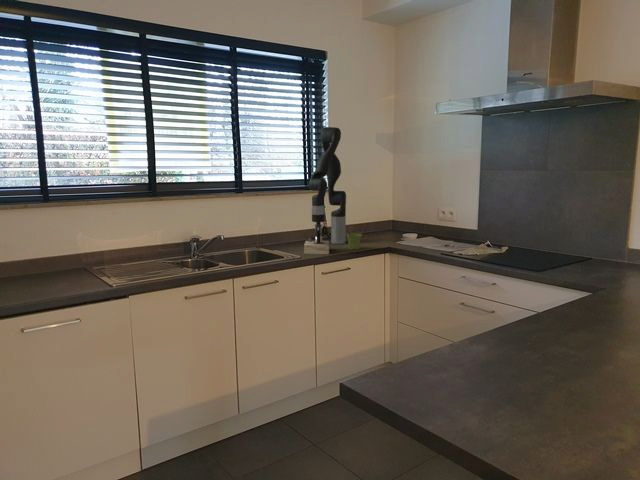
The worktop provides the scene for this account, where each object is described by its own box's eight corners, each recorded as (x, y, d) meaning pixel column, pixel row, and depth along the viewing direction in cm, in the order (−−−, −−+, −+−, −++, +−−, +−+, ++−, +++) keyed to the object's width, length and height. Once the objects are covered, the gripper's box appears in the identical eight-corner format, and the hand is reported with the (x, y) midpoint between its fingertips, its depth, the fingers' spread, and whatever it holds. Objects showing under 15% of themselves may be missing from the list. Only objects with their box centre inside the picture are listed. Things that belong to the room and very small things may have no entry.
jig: (305, 249, 280) (305, 237, 278) (329, 249, 279) (329, 237, 278) (304, 254, 264) (304, 242, 263) (329, 254, 263) (328, 241, 262)
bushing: (315, 245, 273) (315, 235, 272) (322, 245, 273) (322, 235, 272) (315, 247, 269) (314, 236, 268) (322, 247, 269) (321, 236, 268)
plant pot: (354, 251, 272) (354, 236, 271) (343, 248, 280) (343, 234, 278) (365, 249, 278) (365, 234, 277) (354, 247, 285) (354, 233, 284)
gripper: (312, 212, 275) (312, 240, 278) (311, 214, 261) (311, 245, 264) (325, 212, 275) (325, 240, 278) (324, 214, 261) (325, 244, 264)
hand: (318, 242), depth 271 cm, fingers open, 4 cm apart
